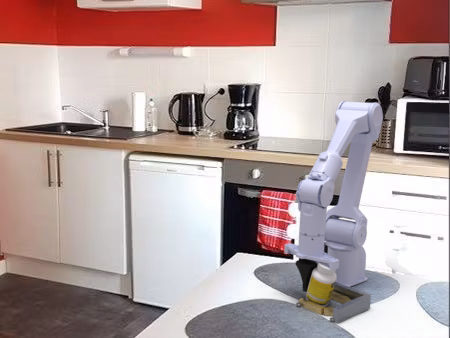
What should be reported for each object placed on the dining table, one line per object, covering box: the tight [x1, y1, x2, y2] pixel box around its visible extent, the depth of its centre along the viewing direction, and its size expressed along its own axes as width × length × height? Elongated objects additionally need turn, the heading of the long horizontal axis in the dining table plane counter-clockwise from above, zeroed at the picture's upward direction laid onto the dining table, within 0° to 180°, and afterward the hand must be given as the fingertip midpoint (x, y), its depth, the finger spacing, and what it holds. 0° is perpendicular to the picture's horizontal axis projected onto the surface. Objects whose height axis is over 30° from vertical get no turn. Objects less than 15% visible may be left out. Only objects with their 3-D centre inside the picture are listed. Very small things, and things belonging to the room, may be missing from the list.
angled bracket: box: [295, 282, 372, 324], centre depth 126 cm, size 12×12×3 cm
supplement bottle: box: [305, 262, 336, 307], centre depth 126 cm, size 5×5×10 cm
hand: (308, 291), depth 129 cm, fingers closed, pressing on supplement bottle
